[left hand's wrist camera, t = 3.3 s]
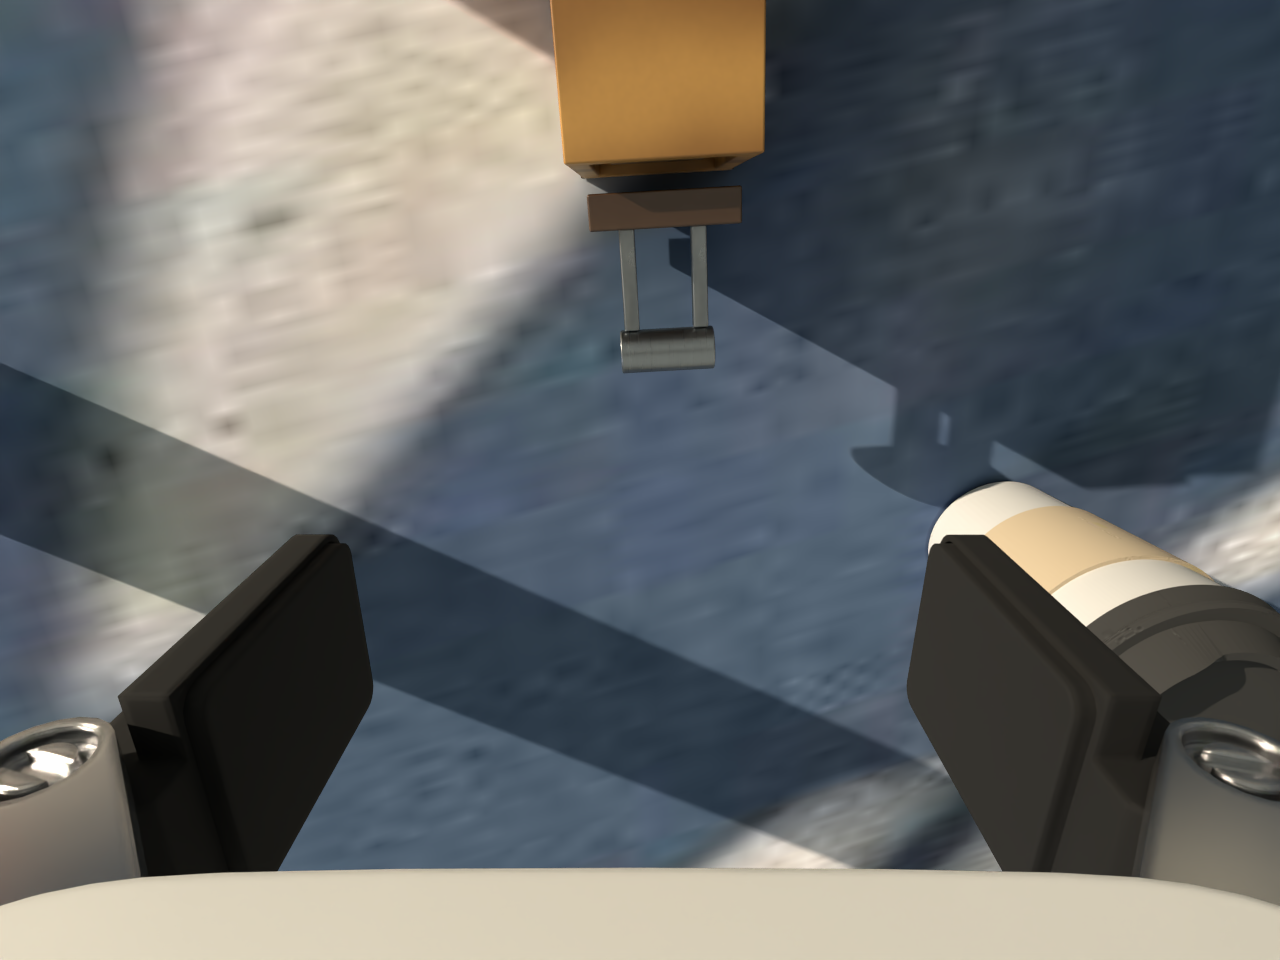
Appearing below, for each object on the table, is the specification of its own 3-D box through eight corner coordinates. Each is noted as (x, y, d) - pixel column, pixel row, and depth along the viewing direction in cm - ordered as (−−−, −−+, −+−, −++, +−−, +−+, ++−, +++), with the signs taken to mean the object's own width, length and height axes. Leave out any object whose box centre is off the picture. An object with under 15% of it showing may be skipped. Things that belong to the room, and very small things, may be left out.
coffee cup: (1111, 546, 36) (1411, 752, 22) (966, 643, 38) (1156, 887, 24) (1023, 425, 34) (1297, 571, 20) (873, 536, 36) (1025, 739, 22)
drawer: (721, 351, 32) (742, 384, 25) (608, 358, 32) (601, 392, 26) (713, -325, 23) (741, -522, 17) (560, -314, 23) (532, -507, 17)
